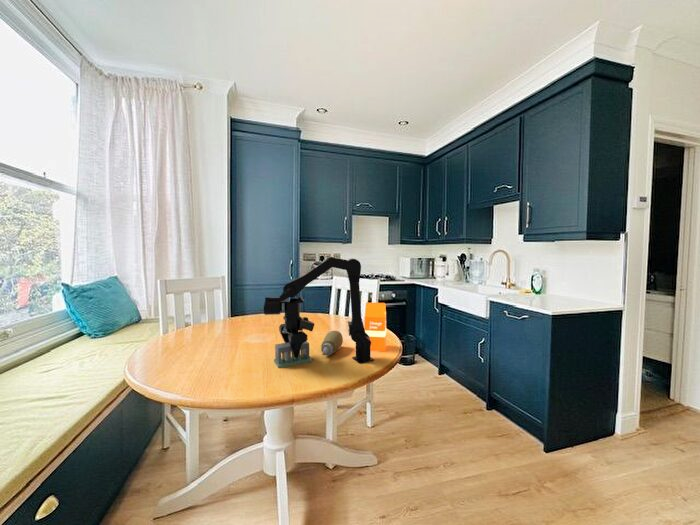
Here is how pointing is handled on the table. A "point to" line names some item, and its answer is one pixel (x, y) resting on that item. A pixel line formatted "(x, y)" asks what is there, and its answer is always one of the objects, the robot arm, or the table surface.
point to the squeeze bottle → (331, 342)
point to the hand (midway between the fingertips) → (292, 354)
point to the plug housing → (287, 350)
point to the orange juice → (376, 325)
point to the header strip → (292, 360)
